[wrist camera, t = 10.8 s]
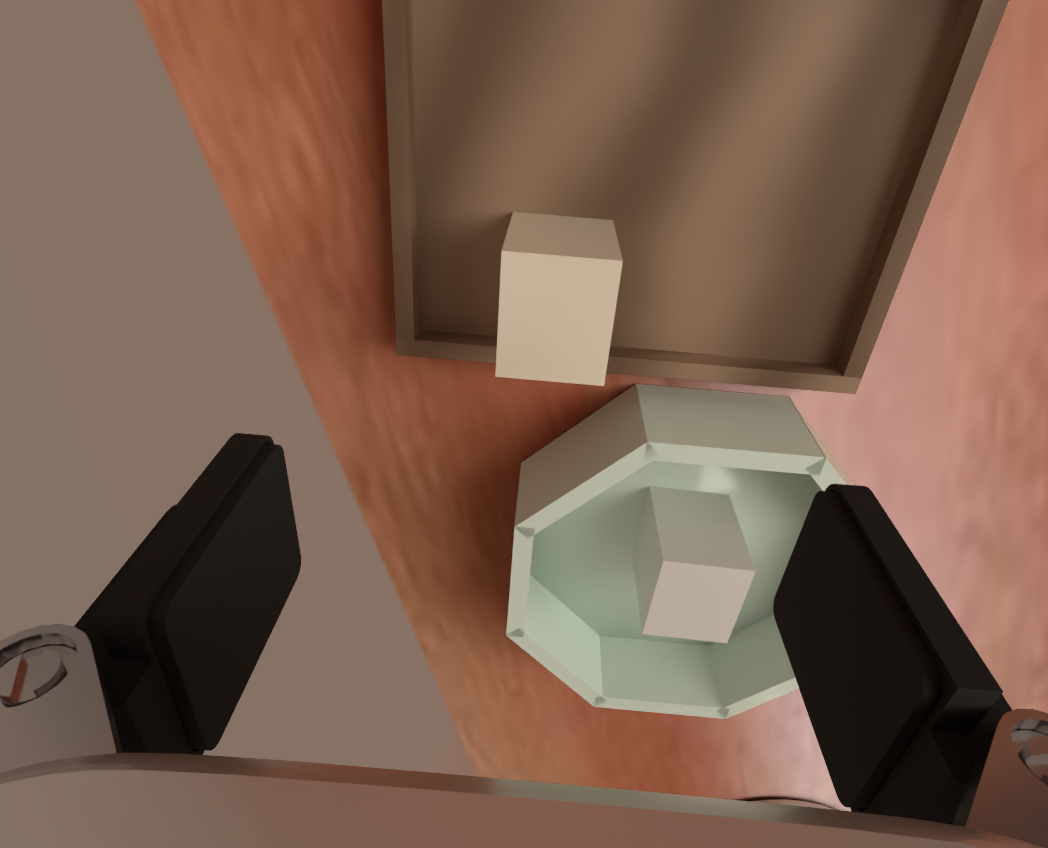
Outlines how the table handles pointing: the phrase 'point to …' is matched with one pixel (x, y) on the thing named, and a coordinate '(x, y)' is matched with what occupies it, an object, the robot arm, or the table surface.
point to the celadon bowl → (611, 530)
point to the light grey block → (690, 565)
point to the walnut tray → (678, 167)
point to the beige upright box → (557, 298)
